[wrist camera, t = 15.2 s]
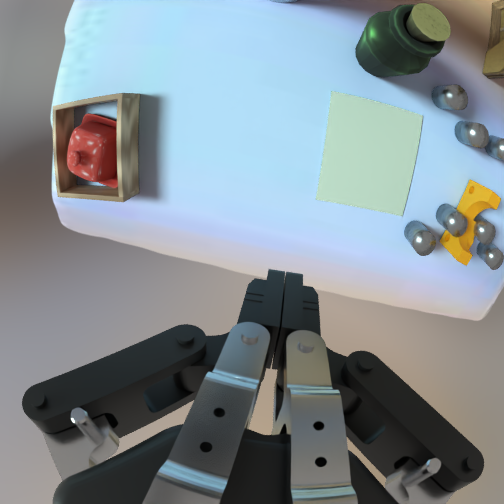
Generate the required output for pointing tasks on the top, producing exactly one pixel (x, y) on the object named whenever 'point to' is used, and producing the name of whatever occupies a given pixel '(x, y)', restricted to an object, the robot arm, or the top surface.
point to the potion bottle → (402, 40)
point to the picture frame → (495, 43)
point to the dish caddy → (125, 149)
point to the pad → (368, 154)
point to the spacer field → (446, 214)
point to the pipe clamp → (469, 219)
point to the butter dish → (94, 150)
